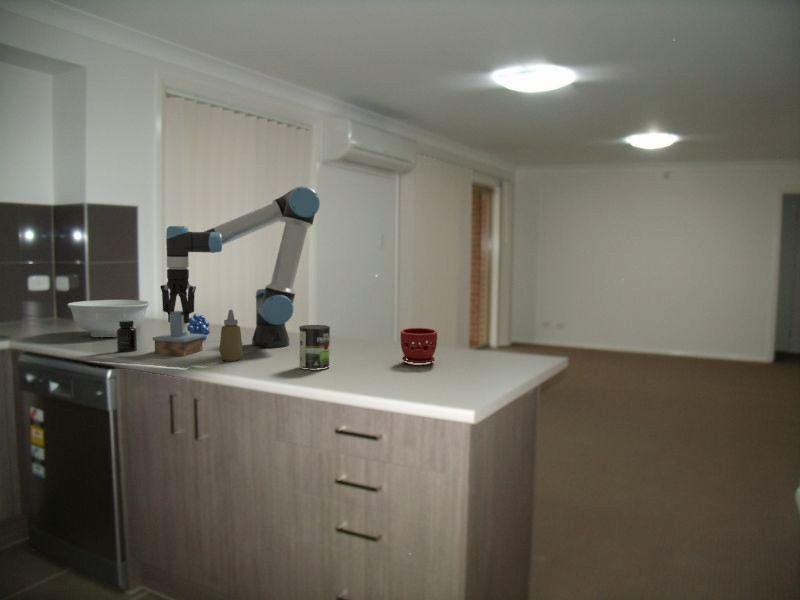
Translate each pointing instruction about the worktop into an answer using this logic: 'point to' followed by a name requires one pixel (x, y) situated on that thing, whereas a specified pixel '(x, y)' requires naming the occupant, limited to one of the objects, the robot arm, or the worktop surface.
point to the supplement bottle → (126, 337)
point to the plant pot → (416, 350)
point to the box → (178, 347)
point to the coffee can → (314, 346)
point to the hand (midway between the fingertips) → (178, 331)
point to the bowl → (107, 315)
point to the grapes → (198, 326)
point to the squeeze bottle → (231, 339)
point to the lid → (177, 331)
